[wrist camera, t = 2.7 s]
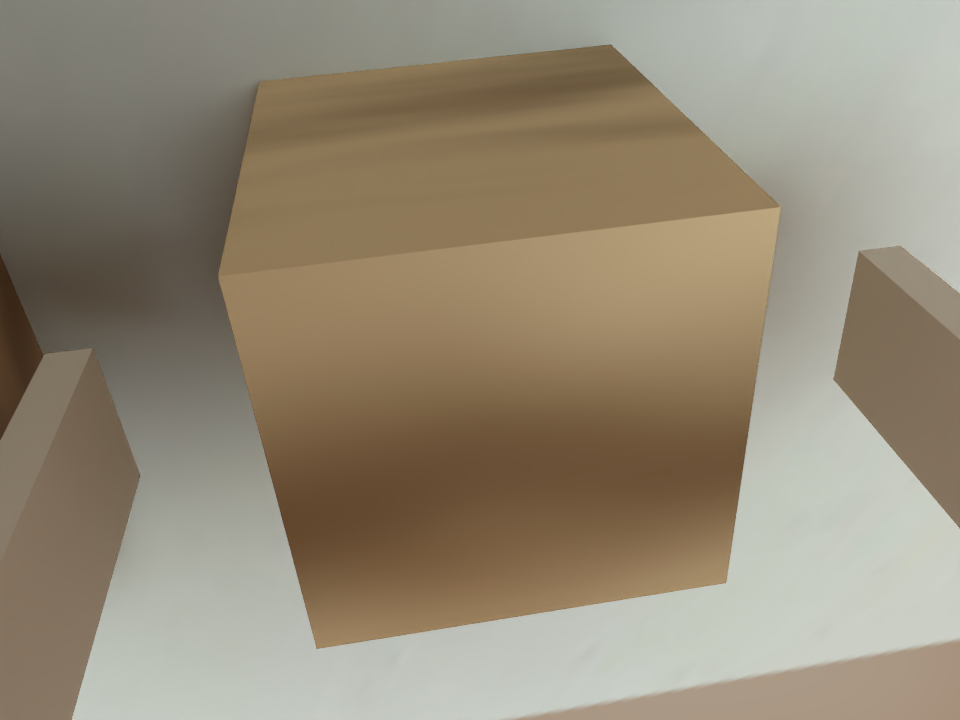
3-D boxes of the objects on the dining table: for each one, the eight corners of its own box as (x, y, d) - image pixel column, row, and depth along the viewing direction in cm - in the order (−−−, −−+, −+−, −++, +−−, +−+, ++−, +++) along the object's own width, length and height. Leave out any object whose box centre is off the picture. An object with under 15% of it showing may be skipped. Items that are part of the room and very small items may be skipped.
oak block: (259, 80, 17) (217, 275, 10) (610, 44, 18) (781, 207, 11) (319, 373, 21) (317, 649, 14) (603, 335, 21) (725, 583, 15)
